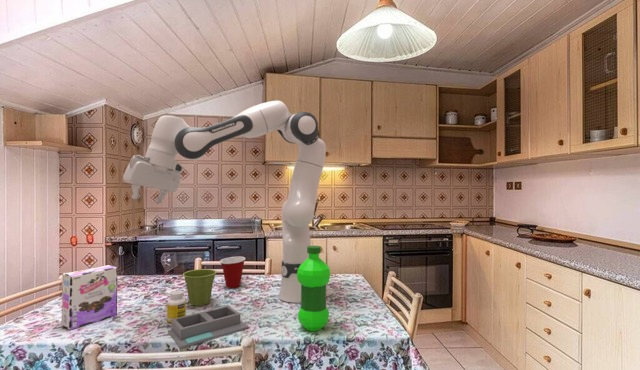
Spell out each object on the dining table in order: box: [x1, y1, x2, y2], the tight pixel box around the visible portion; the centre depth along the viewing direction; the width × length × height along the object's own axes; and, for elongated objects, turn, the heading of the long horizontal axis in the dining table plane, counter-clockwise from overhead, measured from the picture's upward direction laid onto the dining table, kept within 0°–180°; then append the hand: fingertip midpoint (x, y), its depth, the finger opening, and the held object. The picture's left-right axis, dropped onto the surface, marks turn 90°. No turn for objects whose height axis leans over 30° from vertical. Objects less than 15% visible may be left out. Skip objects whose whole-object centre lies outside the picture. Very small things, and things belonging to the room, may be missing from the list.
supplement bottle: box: [166, 289, 187, 327], centre depth 105 cm, size 5×5×10 cm
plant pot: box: [182, 268, 218, 307], centre depth 122 cm, size 12×12×11 cm
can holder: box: [167, 305, 250, 349], centre depth 99 cm, size 20×12×4 cm, turn 130°
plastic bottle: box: [297, 245, 331, 332], centre depth 102 cm, size 10×10×25 cm
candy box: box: [61, 264, 118, 330], centre depth 106 cm, size 14×6×16 cm, turn 148°
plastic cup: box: [219, 256, 246, 289], centre depth 142 cm, size 11×11×12 cm
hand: (147, 200), depth 109 cm, fingers open, 8 cm apart
